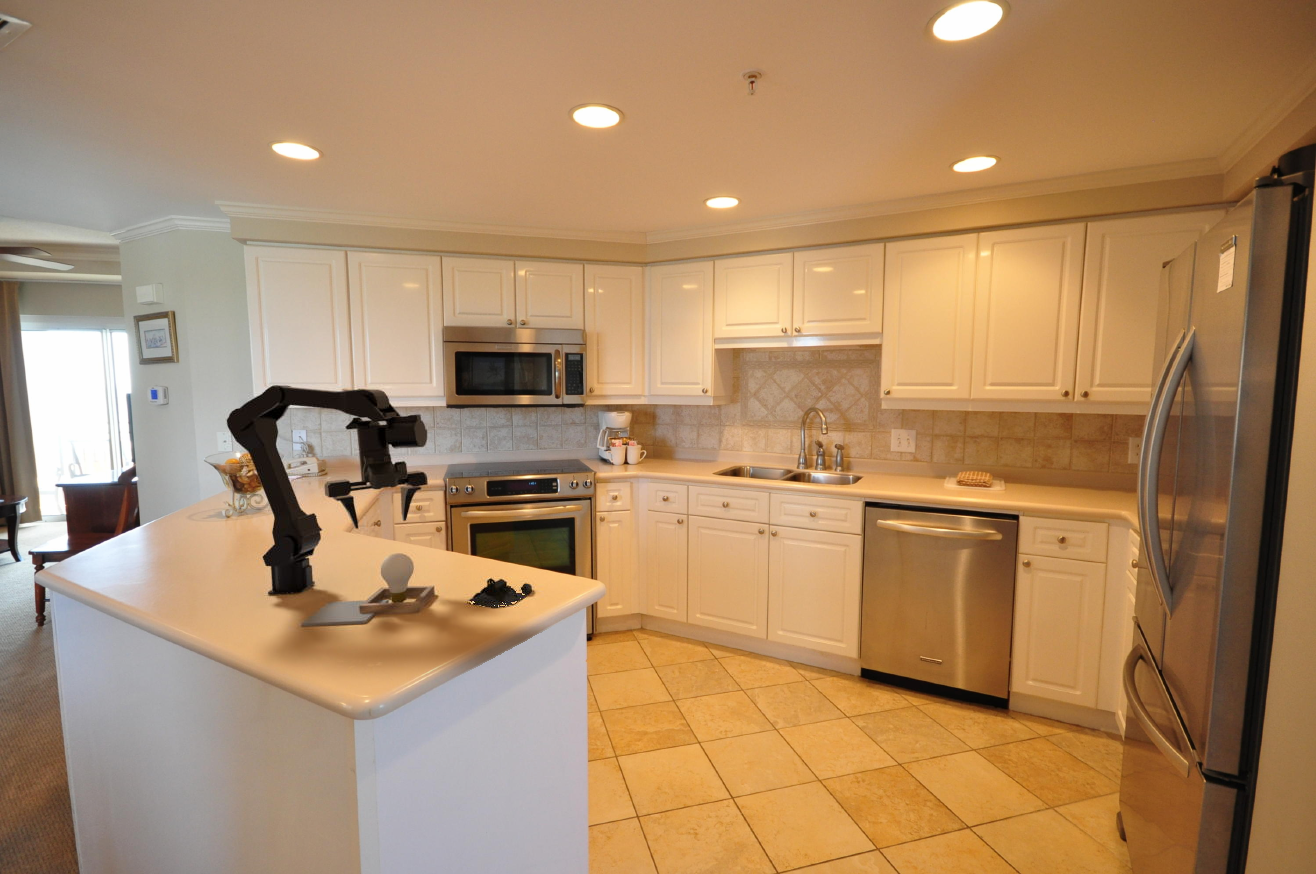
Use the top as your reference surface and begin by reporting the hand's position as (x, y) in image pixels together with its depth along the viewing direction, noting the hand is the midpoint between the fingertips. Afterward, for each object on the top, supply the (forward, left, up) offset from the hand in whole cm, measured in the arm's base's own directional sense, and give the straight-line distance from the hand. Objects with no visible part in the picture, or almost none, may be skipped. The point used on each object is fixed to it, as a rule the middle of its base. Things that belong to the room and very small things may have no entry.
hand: (381, 524), depth 124 cm
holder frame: (+6, -10, -14) cm, 18 cm away
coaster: (-2, -14, -14) cm, 20 cm away
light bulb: (+6, -10, -14) cm, 18 cm away
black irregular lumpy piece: (+26, -8, -15) cm, 30 cm away
